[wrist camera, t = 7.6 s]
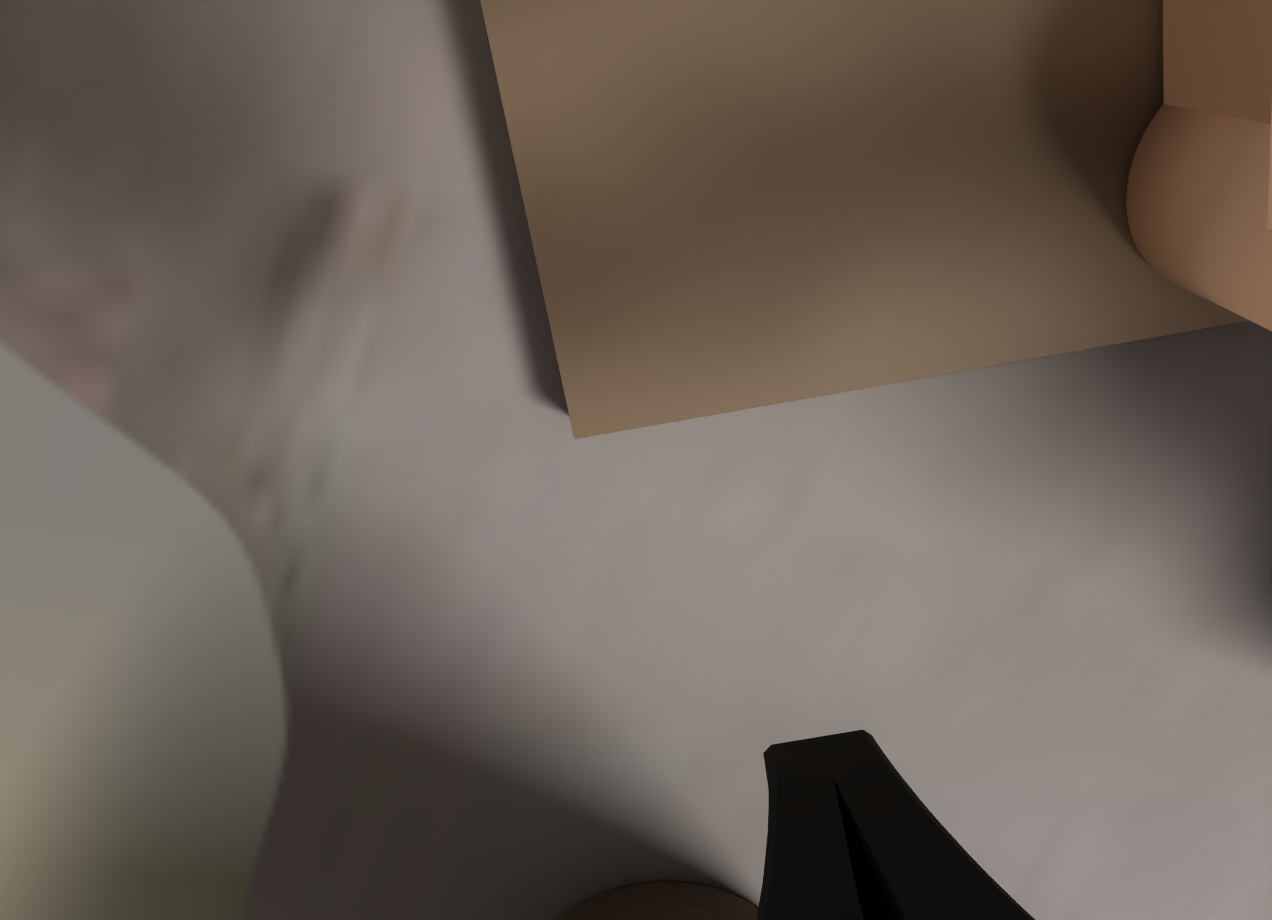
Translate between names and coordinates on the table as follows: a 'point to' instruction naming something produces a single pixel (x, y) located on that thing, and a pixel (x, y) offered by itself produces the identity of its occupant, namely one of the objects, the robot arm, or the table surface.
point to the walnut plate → (827, 192)
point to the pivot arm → (1210, 157)
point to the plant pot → (664, 904)
